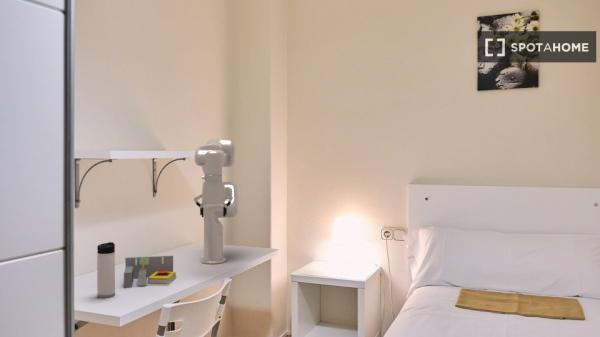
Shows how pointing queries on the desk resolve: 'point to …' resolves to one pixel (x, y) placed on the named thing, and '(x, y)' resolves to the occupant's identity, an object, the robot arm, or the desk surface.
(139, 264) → the frame
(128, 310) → the desk surface
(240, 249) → the desk surface
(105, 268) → the travel mug
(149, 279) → the emergency button
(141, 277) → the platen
